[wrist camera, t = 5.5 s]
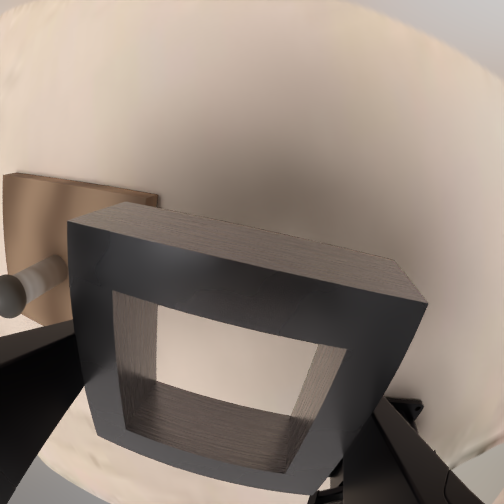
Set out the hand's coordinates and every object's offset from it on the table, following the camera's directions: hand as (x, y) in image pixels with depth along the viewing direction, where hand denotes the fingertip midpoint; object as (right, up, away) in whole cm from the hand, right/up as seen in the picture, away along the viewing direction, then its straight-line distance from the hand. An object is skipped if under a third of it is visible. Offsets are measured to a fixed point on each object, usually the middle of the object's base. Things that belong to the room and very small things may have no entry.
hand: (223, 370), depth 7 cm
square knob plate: (-13, +2, +12) cm, 18 cm away
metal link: (0, 0, +1) cm, 1 cm away
